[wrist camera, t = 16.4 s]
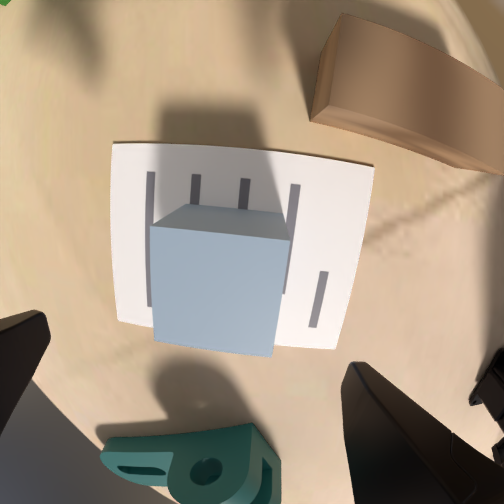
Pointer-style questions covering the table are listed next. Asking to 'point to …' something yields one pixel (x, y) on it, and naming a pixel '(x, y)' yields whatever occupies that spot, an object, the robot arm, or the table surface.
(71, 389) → the table surface
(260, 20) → the table surface
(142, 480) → the bracket
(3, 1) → the hardback book
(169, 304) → the cube
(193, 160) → the letter
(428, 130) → the walnut block
